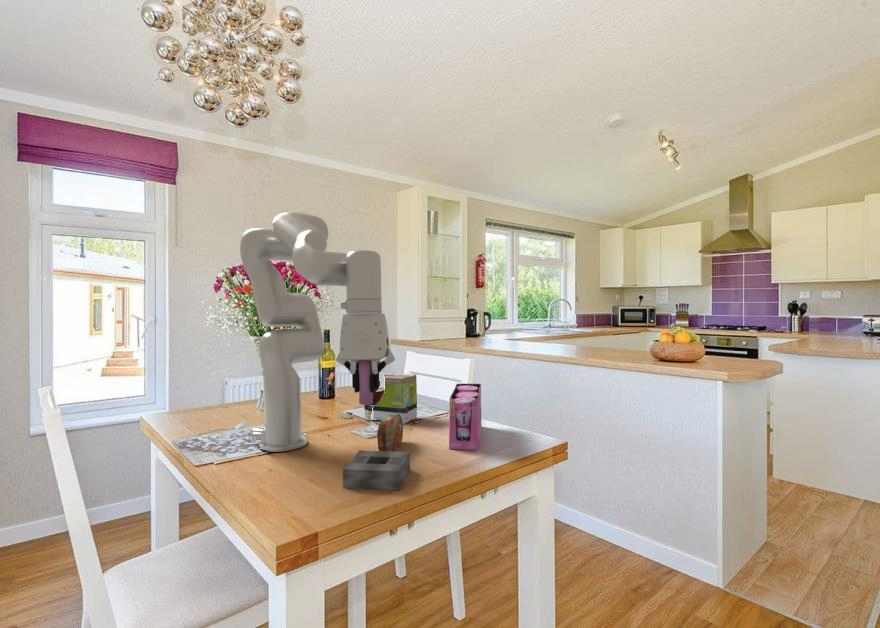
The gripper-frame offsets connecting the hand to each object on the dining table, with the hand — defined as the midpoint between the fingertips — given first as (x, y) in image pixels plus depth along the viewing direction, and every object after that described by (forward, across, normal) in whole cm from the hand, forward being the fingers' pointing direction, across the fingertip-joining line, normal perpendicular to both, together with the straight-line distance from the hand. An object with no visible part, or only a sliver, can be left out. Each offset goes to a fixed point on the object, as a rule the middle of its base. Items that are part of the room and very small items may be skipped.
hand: (366, 390), depth 100 cm
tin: (+20, 0, +21) cm, 29 cm away
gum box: (+20, +19, +34) cm, 43 cm away
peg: (+3, 0, 0) cm, 3 cm away
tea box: (+19, -8, +51) cm, 55 cm away
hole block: (+20, +2, +1) cm, 20 cm away
